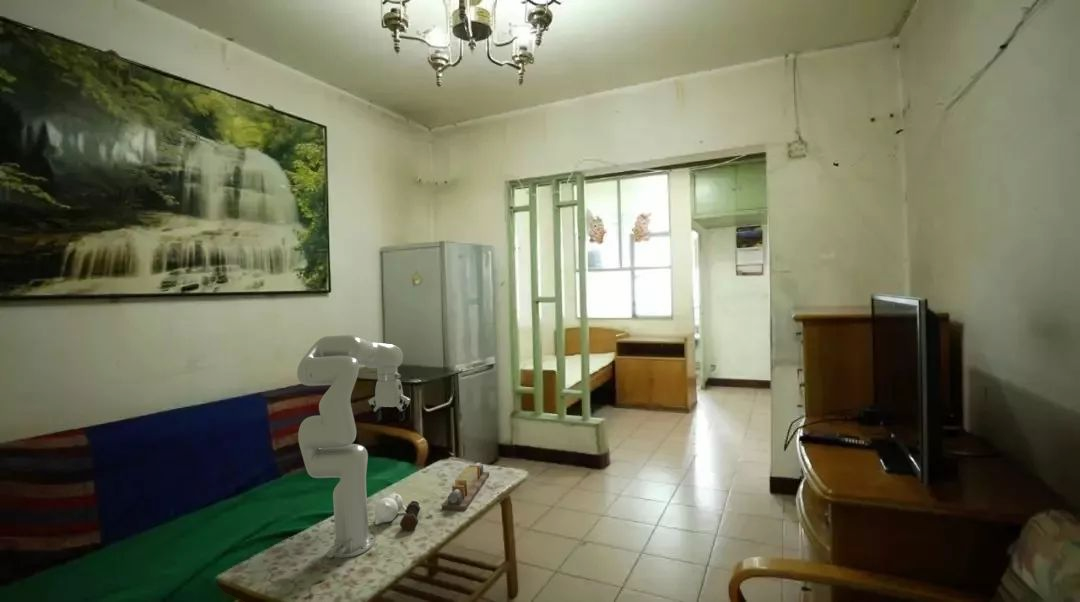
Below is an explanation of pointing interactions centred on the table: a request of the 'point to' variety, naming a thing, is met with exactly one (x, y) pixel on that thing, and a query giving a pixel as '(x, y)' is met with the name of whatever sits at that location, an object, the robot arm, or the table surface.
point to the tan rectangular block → (467, 478)
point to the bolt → (410, 517)
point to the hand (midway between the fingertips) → (390, 420)
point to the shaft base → (458, 497)
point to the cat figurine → (388, 508)
